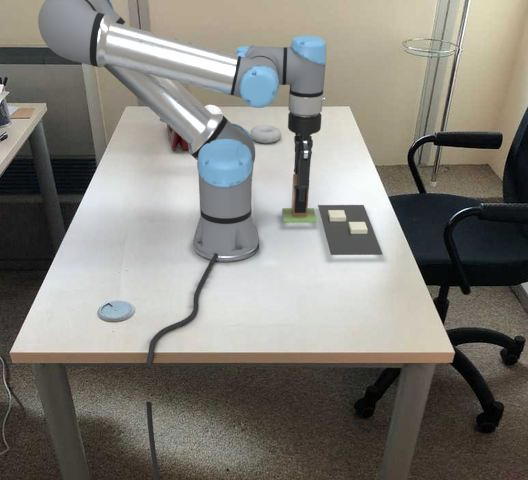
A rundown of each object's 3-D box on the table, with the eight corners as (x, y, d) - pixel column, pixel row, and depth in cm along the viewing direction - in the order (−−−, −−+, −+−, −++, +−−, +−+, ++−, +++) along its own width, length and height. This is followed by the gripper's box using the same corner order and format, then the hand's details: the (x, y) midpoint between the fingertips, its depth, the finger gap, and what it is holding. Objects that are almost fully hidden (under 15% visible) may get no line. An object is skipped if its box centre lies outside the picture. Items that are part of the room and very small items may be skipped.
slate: (382, 260, 148) (383, 254, 148) (330, 260, 148) (330, 254, 147) (363, 210, 169) (363, 204, 168) (317, 210, 168) (317, 204, 167)
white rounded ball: (205, 137, 216) (190, 117, 212) (219, 123, 219) (205, 103, 215) (217, 131, 210) (201, 111, 206) (231, 117, 213) (216, 96, 209)
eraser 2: (367, 233, 155) (367, 229, 155) (350, 233, 155) (351, 229, 154) (364, 226, 158) (364, 221, 158) (348, 226, 158) (348, 221, 158)
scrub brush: (315, 227, 160) (319, 182, 153) (283, 228, 160) (285, 182, 153) (313, 217, 165) (316, 172, 158) (281, 217, 165) (283, 171, 157)
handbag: (163, 125, 217) (158, 70, 206) (194, 124, 219) (191, 69, 208) (169, 156, 195) (165, 97, 185) (204, 154, 197) (202, 95, 186)
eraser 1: (345, 221, 160) (346, 217, 160) (329, 221, 160) (330, 217, 159) (343, 214, 163) (343, 209, 163) (327, 214, 163) (328, 210, 162)
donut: (272, 132, 214) (245, 136, 210) (273, 122, 212) (245, 125, 208) (286, 142, 207) (257, 146, 203) (286, 132, 205) (258, 135, 201)
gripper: (326, 124, 139) (318, 223, 154) (317, 101, 153) (310, 194, 167) (291, 124, 139) (286, 223, 153) (285, 100, 152) (281, 194, 167)
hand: (299, 208), depth 160 cm, fingers closed on scrub brush, 4 cm apart
